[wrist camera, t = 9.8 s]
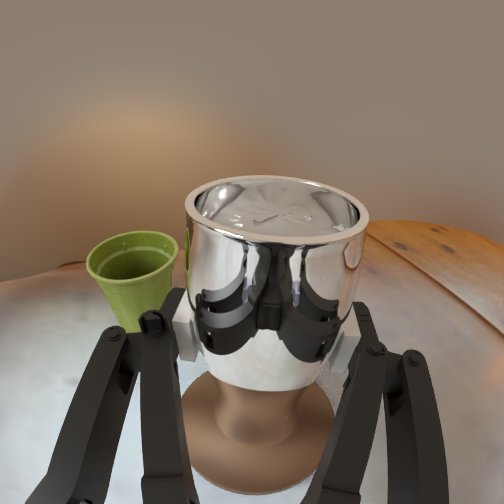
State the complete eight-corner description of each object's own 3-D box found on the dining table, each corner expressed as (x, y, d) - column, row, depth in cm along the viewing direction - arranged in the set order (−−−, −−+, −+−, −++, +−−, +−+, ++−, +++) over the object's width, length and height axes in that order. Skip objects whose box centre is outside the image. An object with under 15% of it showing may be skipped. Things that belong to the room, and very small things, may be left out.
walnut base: (330, 495, 14) (359, 477, 10) (164, 480, 14) (141, 458, 11) (323, 369, 25) (339, 325, 22) (198, 358, 25) (192, 313, 22)
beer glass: (195, 441, 15) (138, 227, 7) (221, 365, 21) (215, 169, 13) (301, 460, 14) (399, 260, 6) (309, 379, 20) (358, 184, 12)
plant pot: (203, 318, 30) (198, 250, 26) (135, 364, 24) (110, 294, 19) (155, 284, 35) (145, 223, 31) (95, 317, 29) (73, 253, 24)
